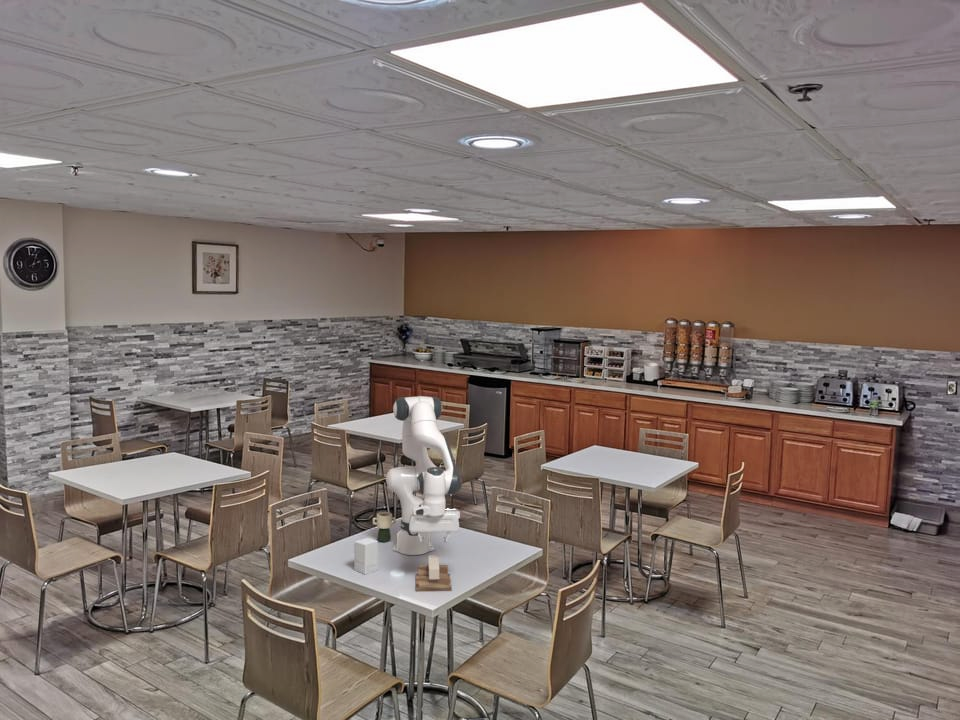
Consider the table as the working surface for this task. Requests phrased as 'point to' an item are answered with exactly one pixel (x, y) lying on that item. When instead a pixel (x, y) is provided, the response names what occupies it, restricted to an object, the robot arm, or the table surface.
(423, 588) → the ridged wooden base
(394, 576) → the table surface
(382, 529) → the character mug
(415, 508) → the robot arm
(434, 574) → the beige rectangular bar
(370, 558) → the supplement box
